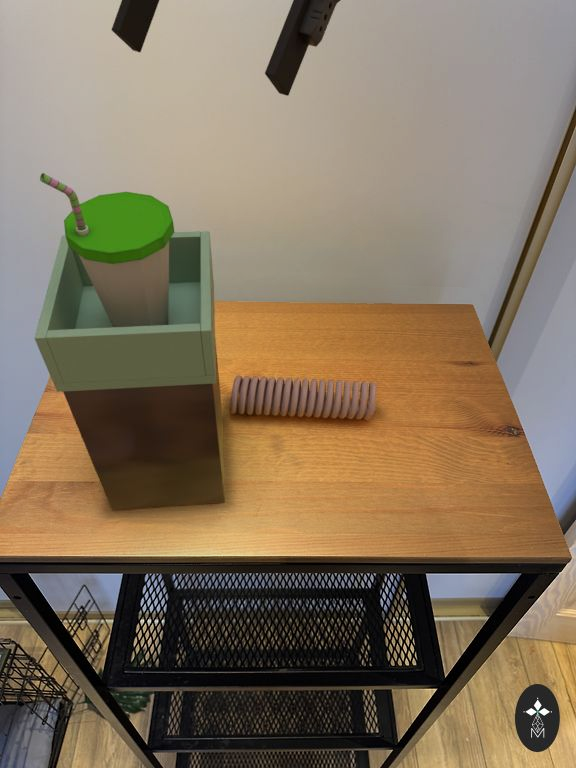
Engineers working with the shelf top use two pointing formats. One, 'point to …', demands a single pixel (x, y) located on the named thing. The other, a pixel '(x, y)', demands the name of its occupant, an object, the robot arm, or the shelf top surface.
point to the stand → (154, 443)
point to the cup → (123, 252)
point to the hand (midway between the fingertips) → (197, 62)
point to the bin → (130, 344)
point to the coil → (302, 397)
